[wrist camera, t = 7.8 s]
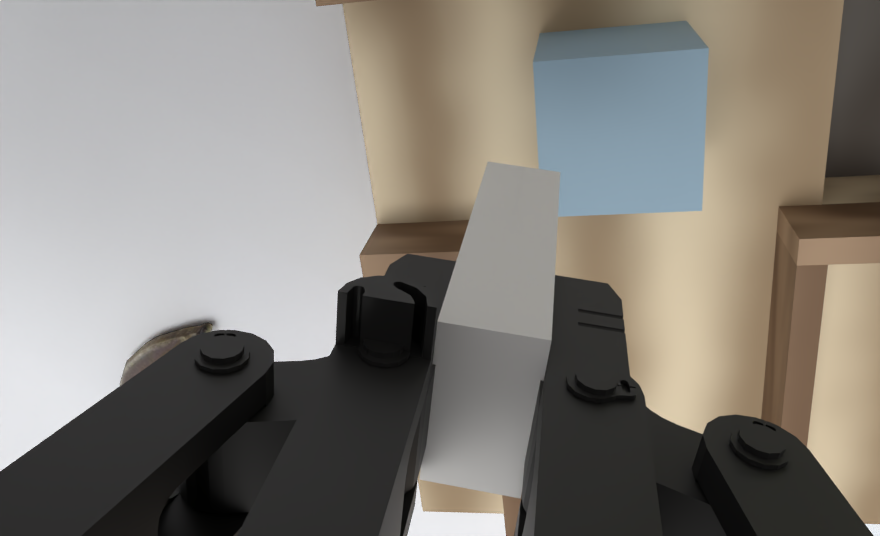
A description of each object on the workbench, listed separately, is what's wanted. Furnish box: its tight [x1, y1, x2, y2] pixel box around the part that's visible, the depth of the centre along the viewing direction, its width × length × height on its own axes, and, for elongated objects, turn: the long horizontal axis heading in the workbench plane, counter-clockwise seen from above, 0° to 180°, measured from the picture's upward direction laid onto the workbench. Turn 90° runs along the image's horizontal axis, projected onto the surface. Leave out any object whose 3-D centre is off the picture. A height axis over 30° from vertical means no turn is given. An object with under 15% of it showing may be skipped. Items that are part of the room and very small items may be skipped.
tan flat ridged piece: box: [315, 0, 880, 536], centre depth 30 cm, size 24×27×6 cm
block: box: [533, 21, 709, 217], centre depth 26 cm, size 5×5×5 cm
